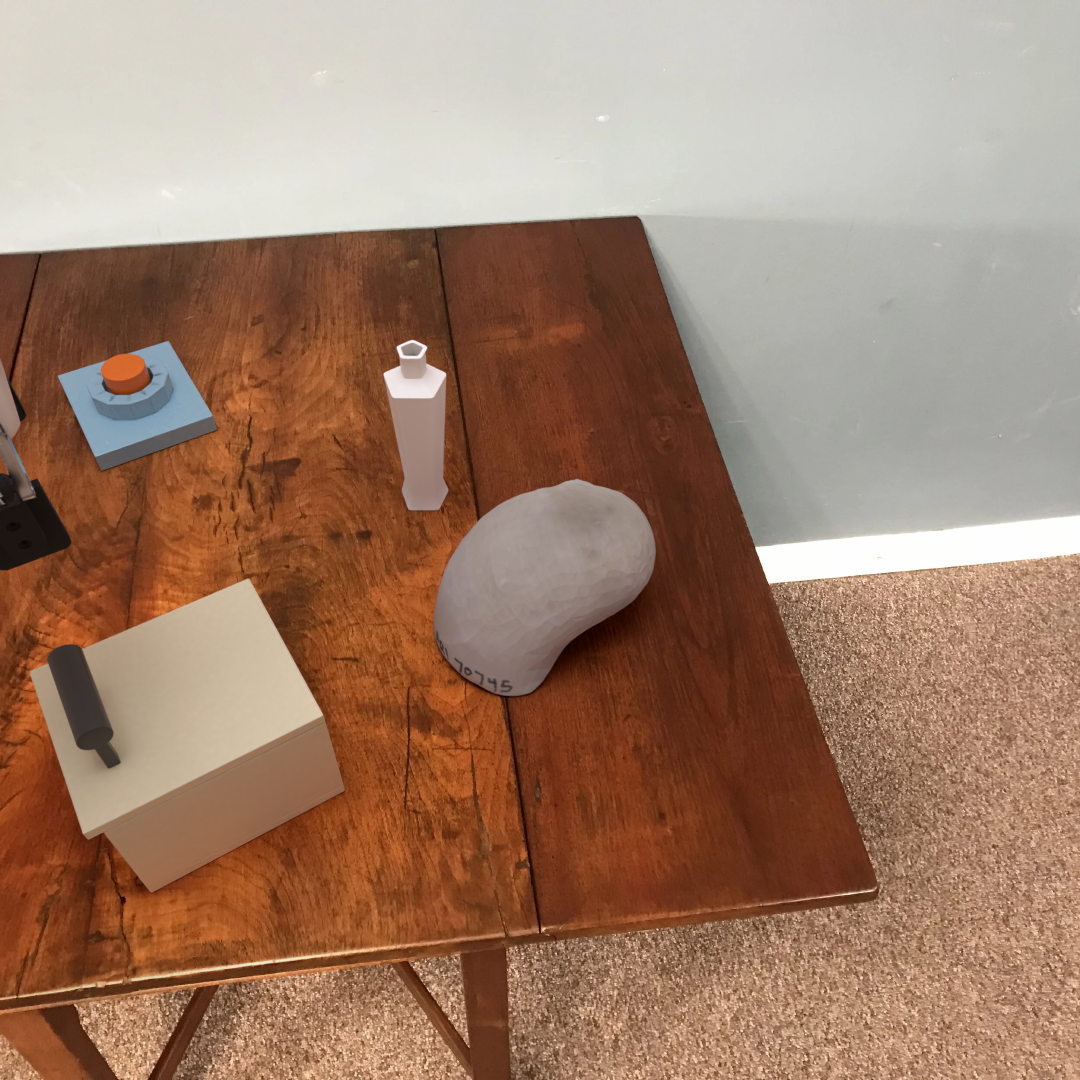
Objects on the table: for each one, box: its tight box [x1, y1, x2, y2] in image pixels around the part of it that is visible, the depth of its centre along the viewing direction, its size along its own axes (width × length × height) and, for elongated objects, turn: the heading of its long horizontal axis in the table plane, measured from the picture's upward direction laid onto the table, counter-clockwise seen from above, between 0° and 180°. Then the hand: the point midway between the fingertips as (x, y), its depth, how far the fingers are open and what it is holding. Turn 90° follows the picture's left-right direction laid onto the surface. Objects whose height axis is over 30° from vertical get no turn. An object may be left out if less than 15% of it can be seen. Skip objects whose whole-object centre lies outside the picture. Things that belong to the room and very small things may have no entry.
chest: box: [102, 721, 346, 894], centre depth 58 cm, size 13×12×9 cm
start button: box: [101, 353, 150, 395], centre depth 80 cm, size 4×4×2 cm
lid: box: [29, 578, 326, 840], centre depth 53 cm, size 13×12×5 cm
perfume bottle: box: [383, 339, 449, 511], centre depth 72 cm, size 5×4×15 cm
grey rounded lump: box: [433, 478, 657, 697], centre depth 68 cm, size 15×14×15 cm
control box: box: [57, 340, 218, 472], centre depth 82 cm, size 10×12×4 cm
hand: (14, 486), depth 45 cm, fingers open, 9 cm apart
